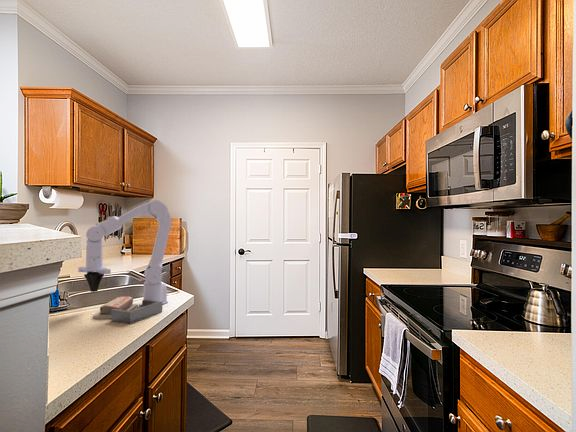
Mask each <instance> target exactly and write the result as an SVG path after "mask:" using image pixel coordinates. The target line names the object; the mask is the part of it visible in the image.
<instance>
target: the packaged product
mask: <svg viewBox="0 0 576 432" xmlns="http://www.w3.org/2000/svg"><path fill="white" fill-rule="evenodd" d="M138 306H139V303H138V304H137V303H135V304H134V297H133V296H118V297H115V298H114V299H112V300H110V301H108V302H106V303H104V304H102V305H101V306H100V308H99V311H97V312H96V313H94V314H93V315H92V319H102V320H103V319H107V318H108V319H109V318H111V310H112V309H119V310H127V311H131V310H134V309H136V308H137V307H138Z"/></svg>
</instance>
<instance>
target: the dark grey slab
mask: <svg viewBox="0 0 576 432" xmlns="http://www.w3.org/2000/svg"><path fill="white" fill-rule="evenodd" d="M141 301H142V302H141V303H142V306H141V307H138V308H137V307H136V308H134V309H133V310H131V311H127V310H119V309H112V310H111V319H110V322H114V323H122V324H127V325H130V324H133V323H136V322H139V321H141V320H143V319H147V318H149V317H151V316H154V315H157V314H159V313H160V314H161V313H162V312H163V304H162V301H153V300H143V299H142V300H141Z"/></svg>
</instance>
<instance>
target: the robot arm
mask: <svg viewBox="0 0 576 432" xmlns="http://www.w3.org/2000/svg"><path fill="white" fill-rule="evenodd" d="M142 215H151V216H153V218H154V219H155V220H156V221H157V222H158V229H157V233H156V236H155V240H154V245H153V249H152V252H151V256H150V260H149V262H148V266H147V267H146V269H145V270H144V272H143V276H144V278H145V280H144V282H143V297H142V298H143V299H142V300H153V301H162V305H164V304H167V303H169V301H168V299H167V298H168V297H167V296H168V295H167V294H168V293H167V291H168V287H167V285H166V283H165V282H163V281H162V279H163V272H162V269H163V259H164V256H165V252H166V247H167V244H168V240H169V234H170V230H171V229H172V227H171V226H172V222H173V221H172V218H171V216H170V212H169V207H167V205H166V204H165V203H164V202H163V201H162V200H159V199H156V200H151V201H149V202H146V203H143V204H140V205H138V206H136V207H134V208H132V209H131V210H128V211H127V212H126V213H123V214H122V215H120V216H115V215H112V216H107V217H106V219H105V220H103V221H101V222H99V223H98V222H97V223H95V225H94V226H91V227H89V228H88V229H87V230H86V233H85V236H86V239H87V240H86V245H85V246H86V247H85V249H86V250H85V251H86V252H85V262H86V263H85V266H79V267H77V268H78V269H77V270H78V271H77V272H78V273H84V276H83V277H84V278H85V279H86V281H87V284H88V286H89V291H90V292H91V293H96V292H98V290H99V285H100V284H101V280H103V277H104V275H110V274H111V268H105V267H103V263H104V262H103V259H104V258H103V253H104V252H103V251H104V247H103V238H104V237H107V236H109V235H111V234H113V233H115V232H116V231H119V230H121V229H122V228H123V227H122V226H123V224H125V223H126V222H129V221H131V220H133V219H135V218H137V217H139V216H142ZM138 306H141V307H142V302H141V303H138Z"/></svg>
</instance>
